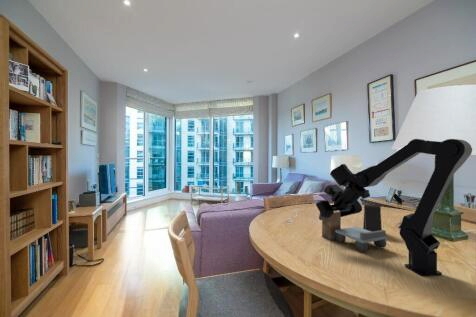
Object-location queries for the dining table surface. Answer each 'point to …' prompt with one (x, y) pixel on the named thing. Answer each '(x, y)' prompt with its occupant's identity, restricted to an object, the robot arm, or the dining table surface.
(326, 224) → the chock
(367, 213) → the door stopper
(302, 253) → the dining table surface
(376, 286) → the dining table surface
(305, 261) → the dining table surface
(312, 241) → the dining table surface
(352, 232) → the dolly
